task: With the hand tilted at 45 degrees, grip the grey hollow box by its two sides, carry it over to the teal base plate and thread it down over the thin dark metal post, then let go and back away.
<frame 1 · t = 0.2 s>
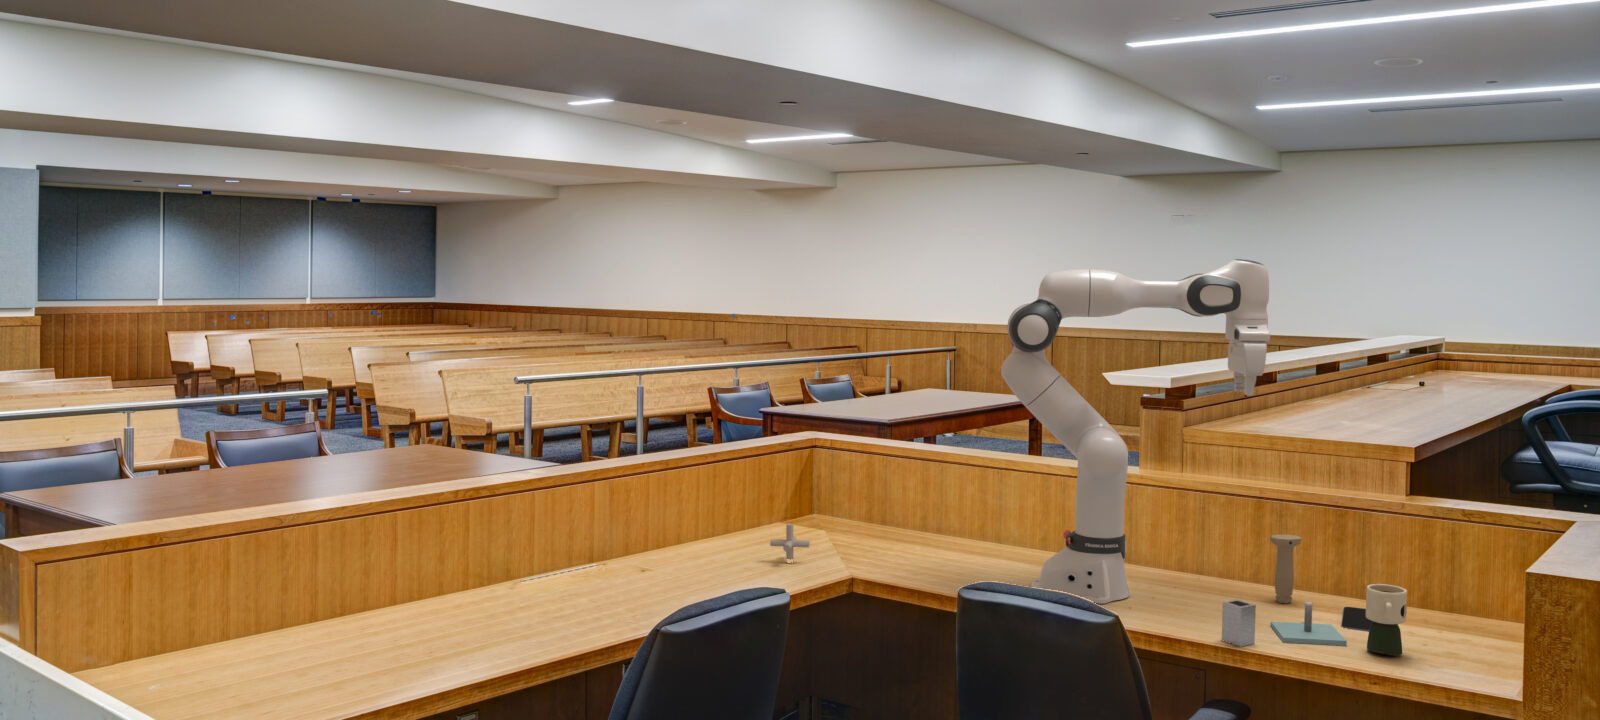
hand: (1243, 393, 258), 48 cm above the table, tool pointing down, fingers open, 8 cm apart
pipe connector: (789, 563, 296), on the table
character mug: (1384, 654, 225), on the table
smartphone: (1360, 623, 247), on the table
post base: (1307, 635, 236), on the table
handle: (1283, 602, 261), on the table
grey hollow box: (1237, 642, 232), on the table
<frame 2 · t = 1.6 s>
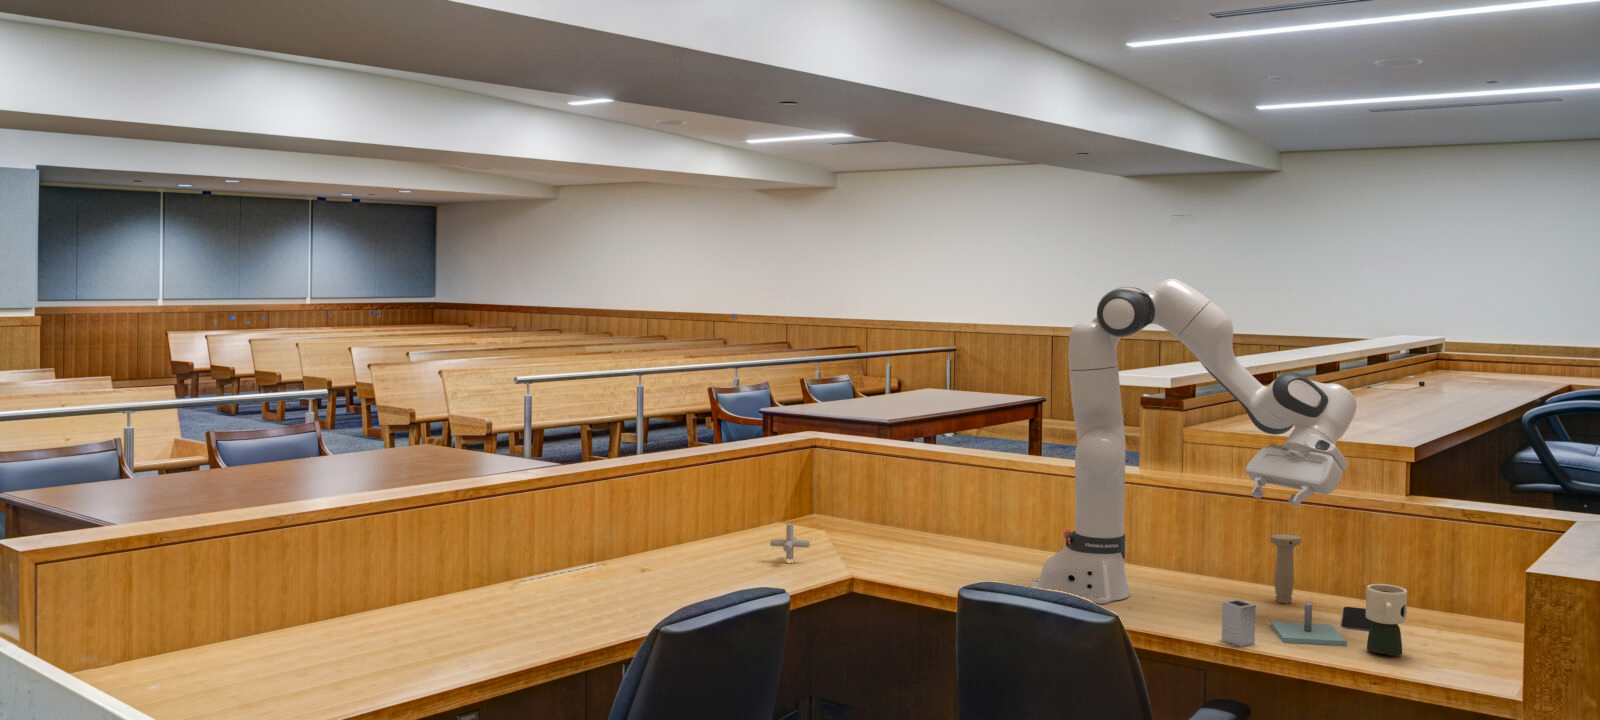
hand: (1273, 500, 240), 27 cm above the table, tool tilted 45°, fingers open, 8 cm apart
nothing on the table moved.
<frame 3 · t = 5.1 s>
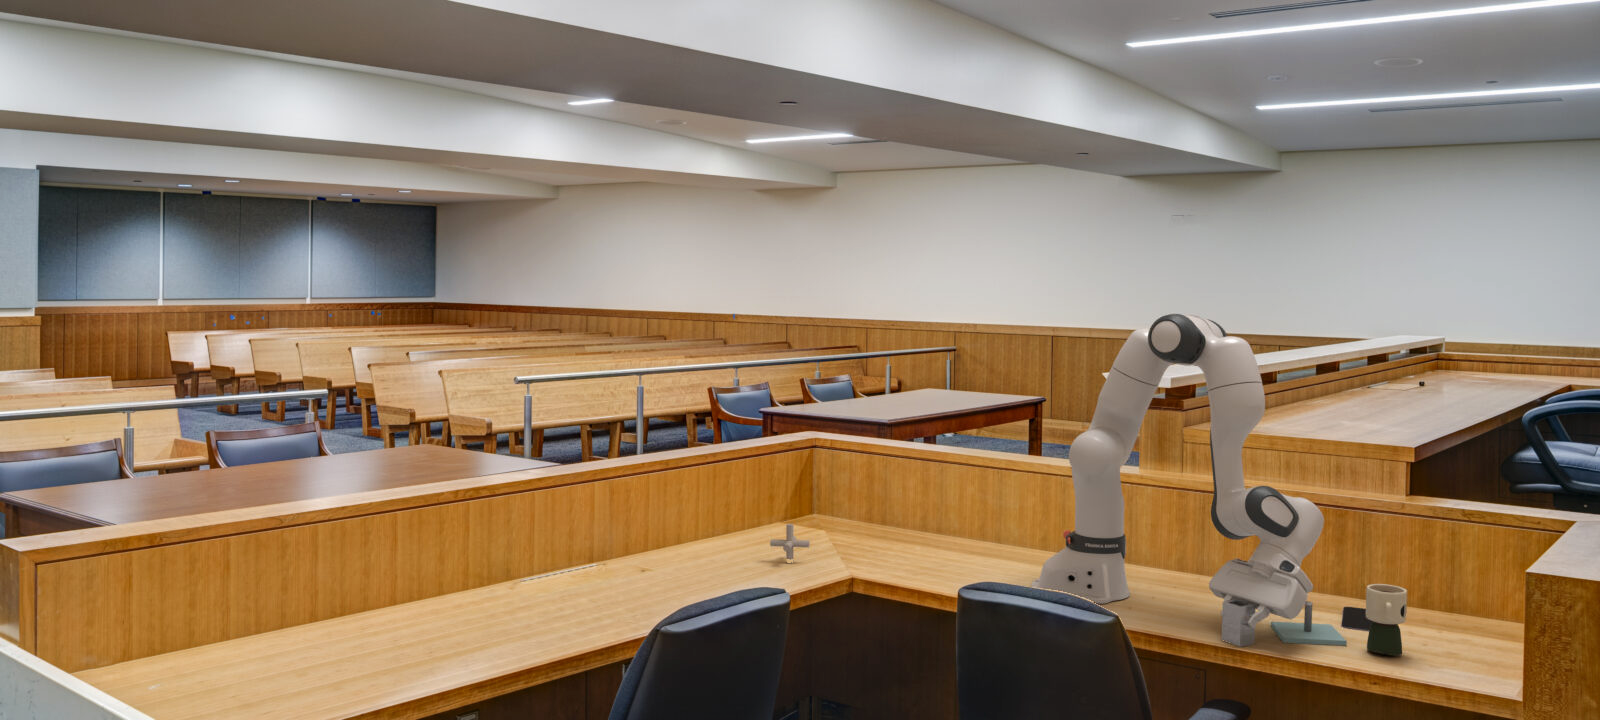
hand: (1236, 621, 231), 4 cm above the table, tool tilted 45°, fingers closed on grey hollow box, 5 cm apart
grey hollow box: (1237, 642, 232), on the table, touching gripper
everything else where it was.
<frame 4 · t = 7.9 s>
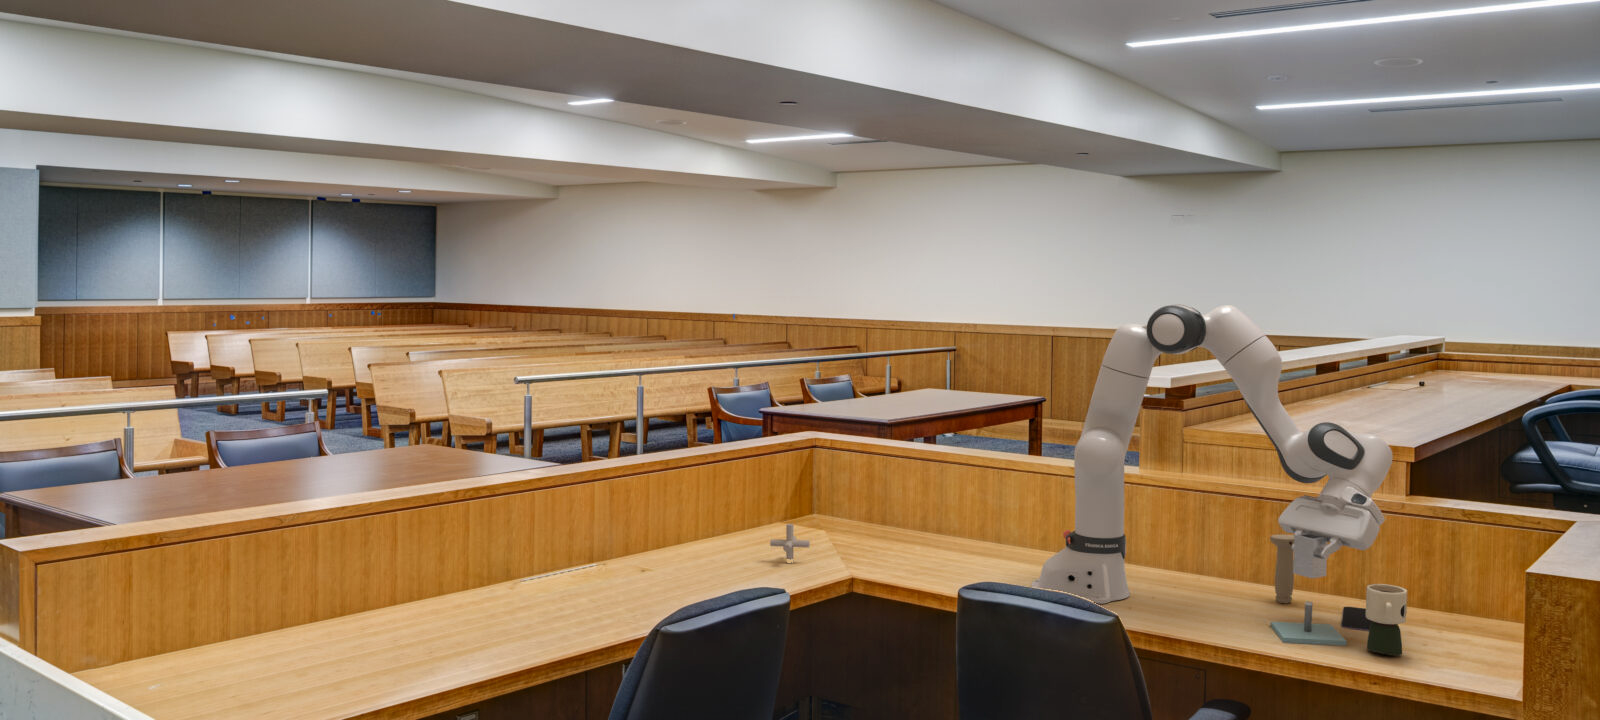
hand: (1308, 554, 235), 17 cm above the table, tool tilted 45°, fingers closed on grey hollow box, 5 cm apart
grey hollow box: (1309, 574, 235), point 13 cm above the table, touching gripper
everything else where it was.
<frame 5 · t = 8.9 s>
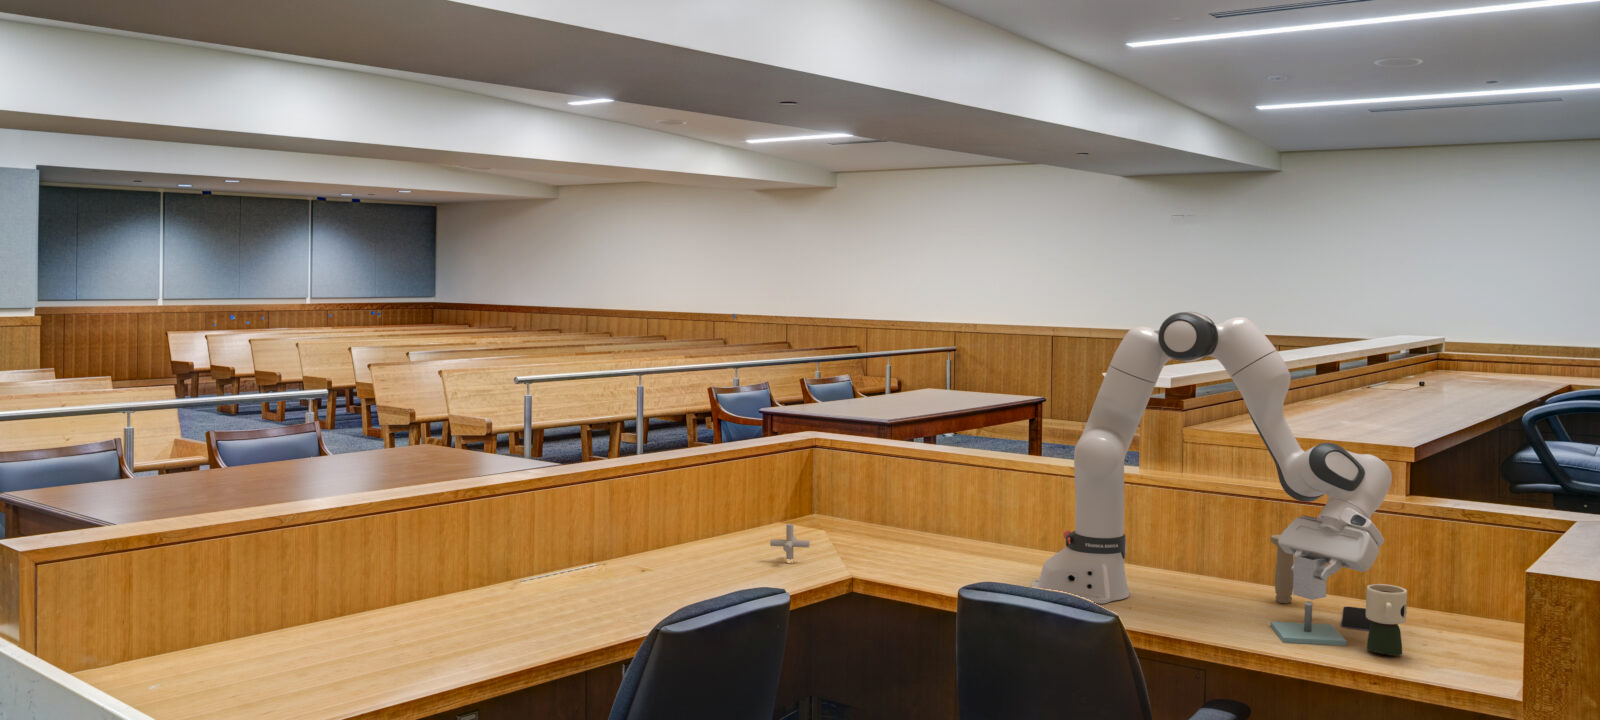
hand: (1308, 575, 235), 13 cm above the table, tool tilted 45°, fingers closed on grey hollow box, 5 cm apart
grey hollow box: (1309, 595, 236), point 8 cm above the table, touching gripper
everything else where it was.
when the fingers open (7 cm above the table, at t = 10.6 s): grey hollow box drops 1 cm, resting on post base.
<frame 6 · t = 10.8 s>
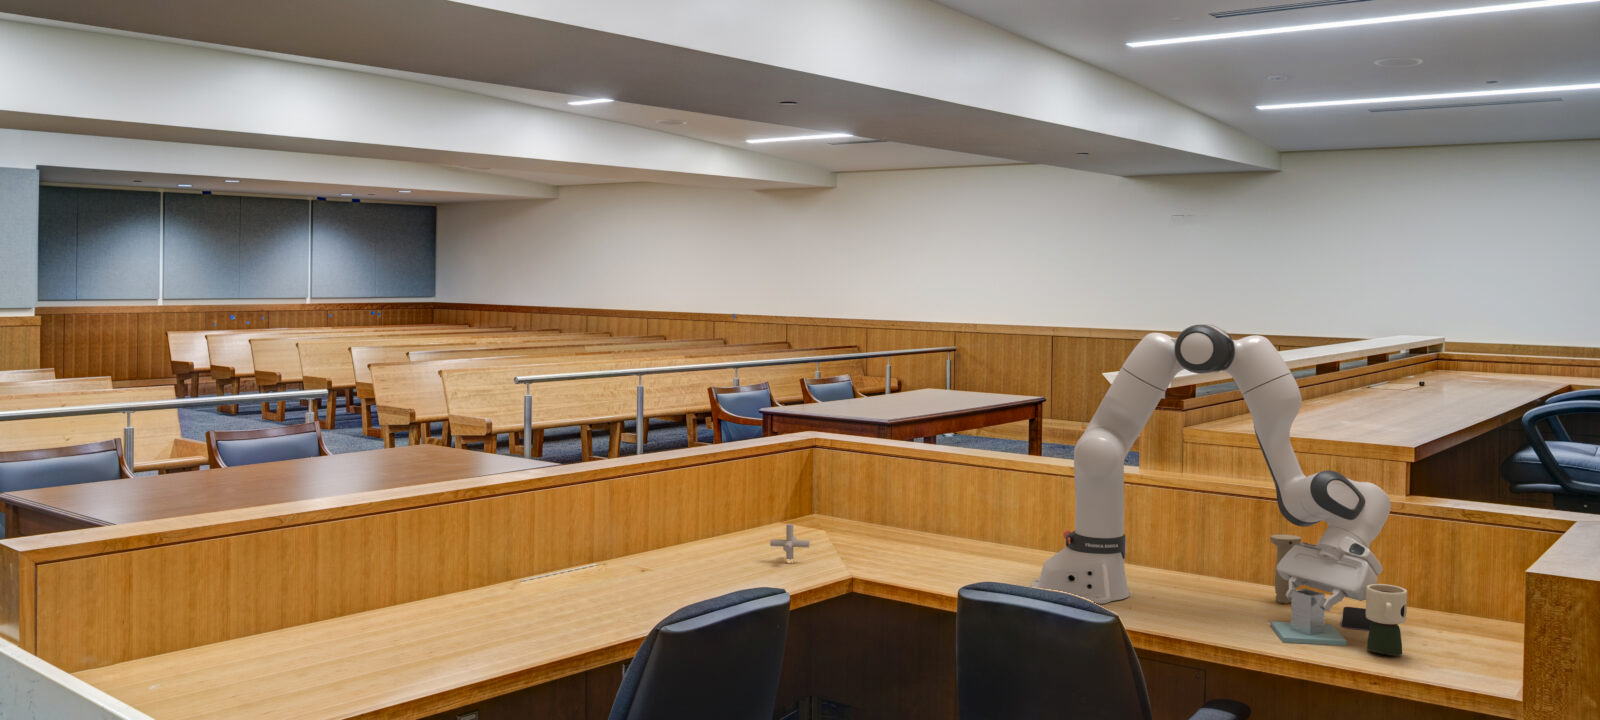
hand: (1306, 603, 236), 7 cm above the table, tool tilted 45°, fingers open, 7 cm apart
grey hollow box: (1307, 630, 236), point 1 cm above the table, touching post base
everything else where it was.
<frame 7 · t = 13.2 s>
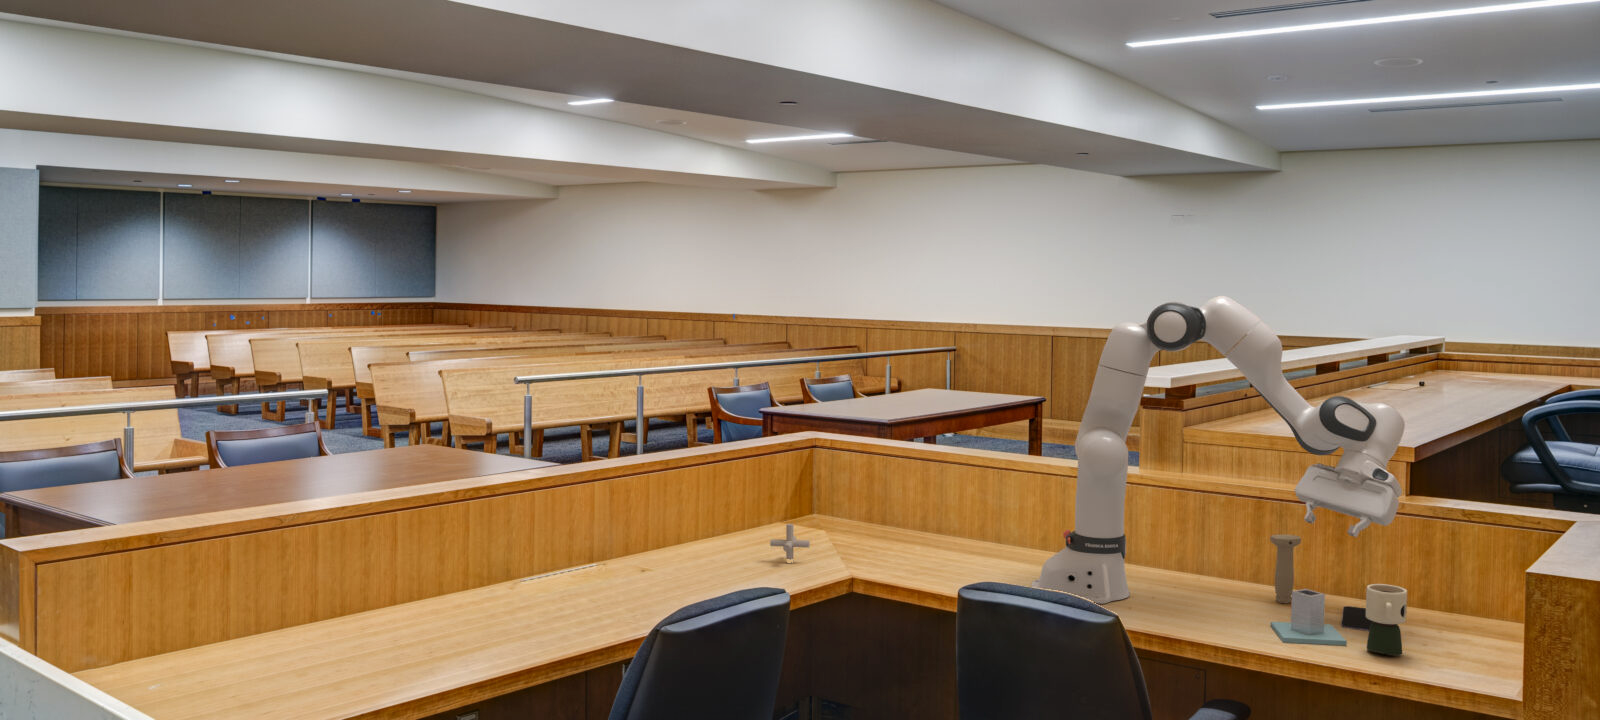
hand: (1329, 528, 240), 21 cm above the table, tool tilted 40°, fingers open, 8 cm apart
nothing on the table moved.
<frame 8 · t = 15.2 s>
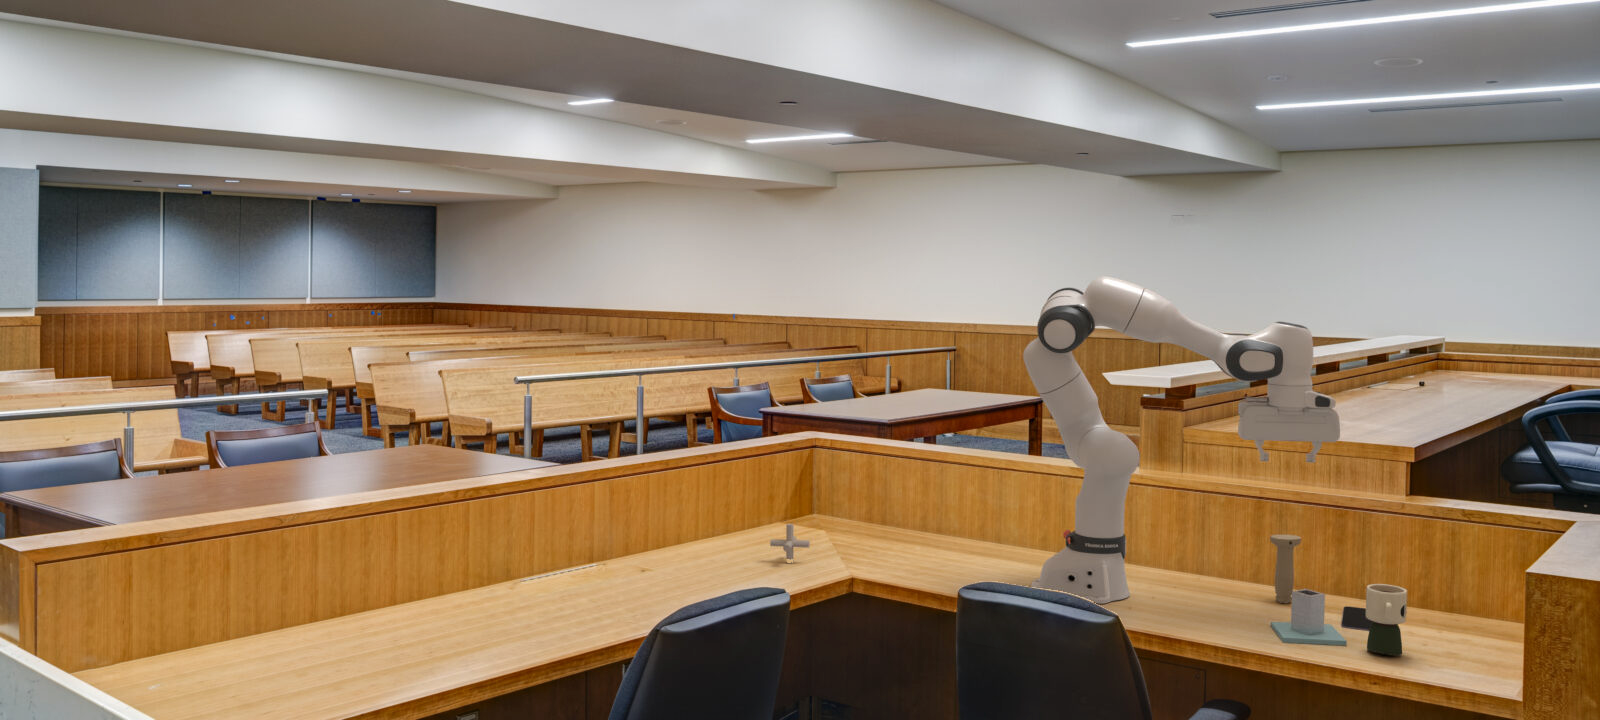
hand: (1287, 461, 247), 34 cm above the table, tool pointing down, fingers open, 8 cm apart
nothing on the table moved.
at the end: grey hollow box 0.1 cm from the post base (horizontally); grey hollow box point 1.0 cm above the table; grey hollow box tilted 0° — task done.
